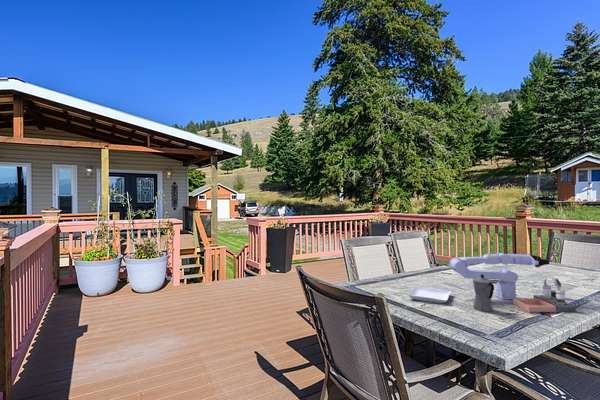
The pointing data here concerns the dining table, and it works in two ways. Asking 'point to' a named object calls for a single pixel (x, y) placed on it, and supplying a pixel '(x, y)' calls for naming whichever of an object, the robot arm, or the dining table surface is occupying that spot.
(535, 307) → the parts tray
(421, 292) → the salad plate
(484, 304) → the coffeepot
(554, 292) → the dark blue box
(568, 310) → the fuse holder
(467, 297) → the dining table surface
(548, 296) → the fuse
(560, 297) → the cylinder
